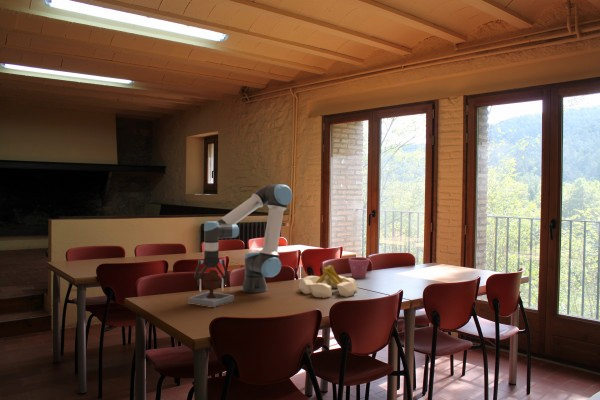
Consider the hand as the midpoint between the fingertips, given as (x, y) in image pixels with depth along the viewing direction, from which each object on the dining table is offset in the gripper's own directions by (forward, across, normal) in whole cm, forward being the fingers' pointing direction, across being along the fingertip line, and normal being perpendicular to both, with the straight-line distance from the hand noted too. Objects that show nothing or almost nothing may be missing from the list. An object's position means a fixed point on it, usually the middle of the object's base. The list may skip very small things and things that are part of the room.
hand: (211, 290), depth 266 cm
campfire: (+7, +70, +11) cm, 72 cm away
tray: (+6, 0, 0) cm, 6 cm away
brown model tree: (+4, 0, 0) cm, 4 cm away
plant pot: (+7, +107, +52) cm, 119 cm away
